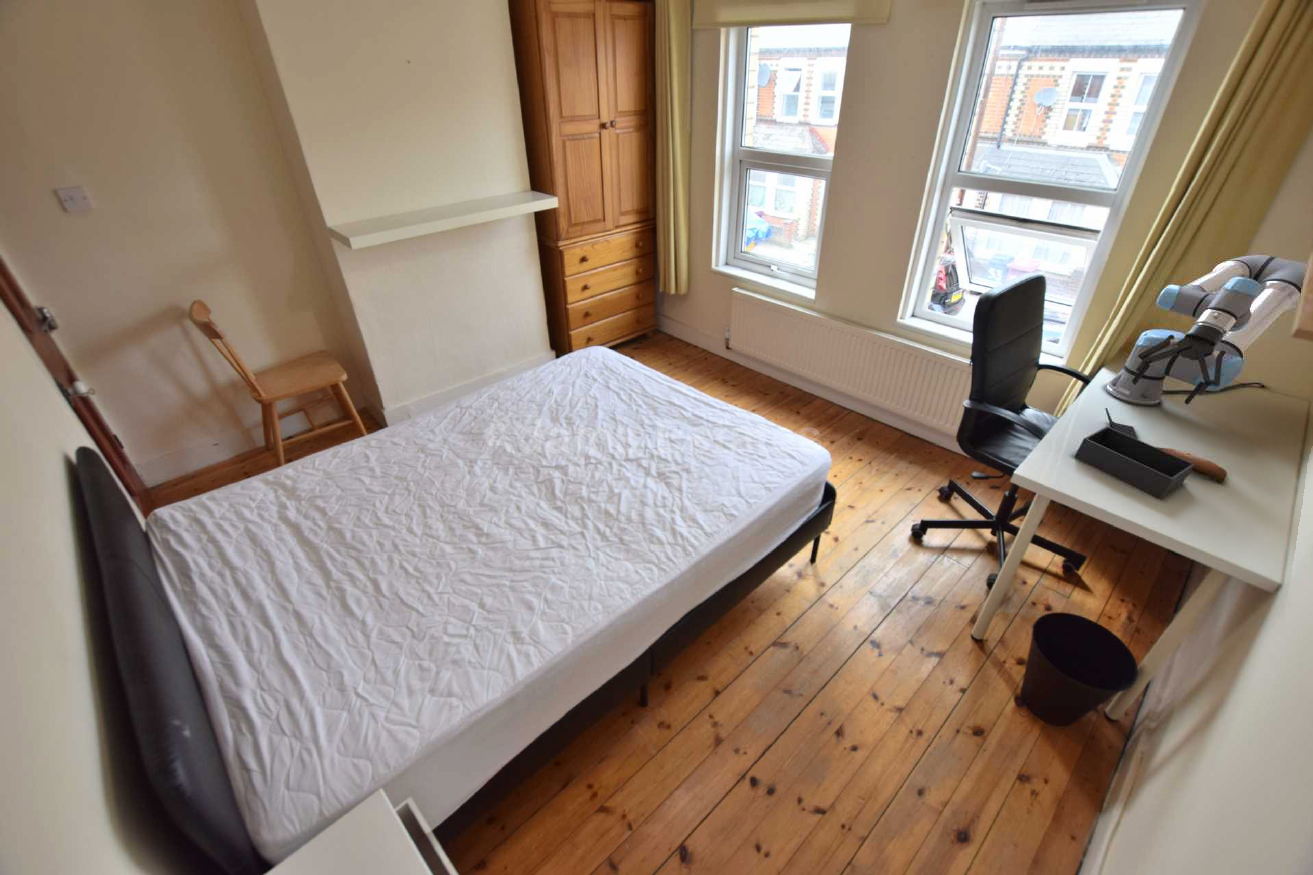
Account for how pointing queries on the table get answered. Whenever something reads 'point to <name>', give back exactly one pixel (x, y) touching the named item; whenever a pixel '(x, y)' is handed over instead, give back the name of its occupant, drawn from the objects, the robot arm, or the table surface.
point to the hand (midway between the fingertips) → (1159, 392)
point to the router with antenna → (1121, 427)
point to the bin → (1134, 461)
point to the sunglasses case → (1200, 464)
